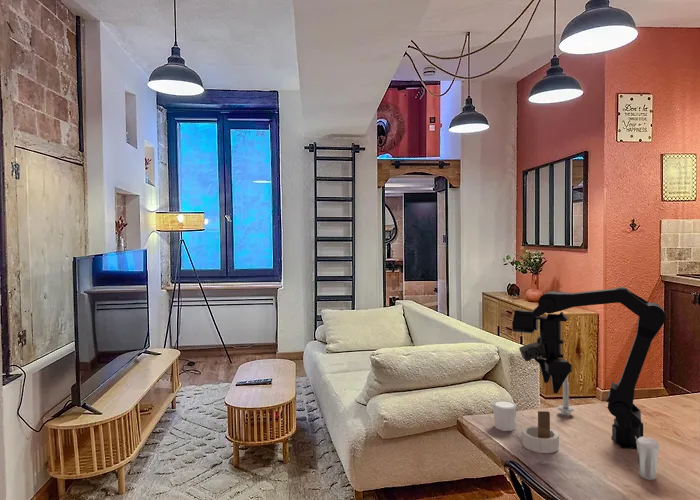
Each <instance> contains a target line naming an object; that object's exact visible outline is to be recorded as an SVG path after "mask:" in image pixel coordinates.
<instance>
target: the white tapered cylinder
mask: <svg viewBox="0 0 700 500" xmlns="http://www.w3.org/2000/svg"><path fill="white" fill-rule="evenodd" d="M517 407H518V406H517V404H516V403H515V402H513V401H510V400H496V401H493V402H492V409H493V419H494V427H495V429H498V430H500V431H503V432H510V431H511V432H512V431H514V430H515V429H516V417H517Z"/></svg>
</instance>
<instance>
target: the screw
mask: <svg viewBox="0 0 700 500" xmlns="http://www.w3.org/2000/svg"><path fill="white" fill-rule="evenodd" d="M569 387H570V386H569V375H567V377H566V379H565V380H564V382H563V384H562V404H560V405H558V406H557V409H558V411H560V415H562V416H564V417H569V416H571V414H572V413H573V412H575V408H574V407H573V406H571V405H570V394H569V393H570V392H569V391H570V388H569Z"/></svg>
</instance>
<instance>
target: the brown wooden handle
mask: <svg viewBox="0 0 700 500" xmlns="http://www.w3.org/2000/svg"><path fill="white" fill-rule="evenodd" d="M537 426H538V438H550V429H551V413H550V411H545V410H543V411H540V410H538V411H537Z"/></svg>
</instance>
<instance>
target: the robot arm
mask: <svg viewBox="0 0 700 500" xmlns="http://www.w3.org/2000/svg"><path fill="white" fill-rule="evenodd" d="M537 303H538V304H537V306H536V307H534V309H532V310H523V309H515V310H514V311H513V316H512V317H513V318H512V322H511V326H512V327H511V328H512V331H513V333H519V334H520V333H523V334H532V335H533V334H534V333H535V331H538V330H539V336H537V338H536V342H532V343H529V344H526V345H525V344H524V345H522V346H520V347H519V348H518V350H519V352H520V354H521V358H522V359H523V360H524V361H525V362H529V361H531V360H533V359H534V361H536V363H537V364H538V365H539V368H540V372H541V376H542V381H543V383H544V384H548V383H549V381H550V380H551V381H550V382H551V388H552V392H553V394H559V391H560V390H561V389H562V388H561V387H563V382H564V380H565V379H566V377H567V376H569V375H570V373H572V372H573V365H572V364H571V363H570V362H569V361H568V360H566V359H565V358H564V354H563V353H562V345H564V340H563V339H562V323H561V322H567V321H568V320H569V317H568V316H567V315H566V314H564V312H563V311H565V310H568V309H572V308H575V307H586V306H596V305H607V304H616V303H617V304H620V305H621V304H622V306H624V307H626V308H627V309H628V310H629V311H631V312H632V313H633V314H635V315H636V316H637V317H638V318H637V325H636V326H637V329H636V334H635V337H634V340H633V343H632V346H631V349H630V351H629V354H628V356H627V360H626V363H625V365H624V368H623V371H622V373H621V376H620V379H619V381H618V382H617V383H615V382H611V384H610V389H609V391H608V392H607V393H606V399H605V402H606V403H607V410H608V411H609V413H610V414H611V415H612V416H613V417H615V418H613V424H612V425H611V432H612V433H611V437H610V438H611V439H612V440H613V442H615V443H616V444H617V445H618V446H619V447H620V448H622V449H637V444H636V438H637V439H638V438H640V437H644V423H643V422H642V411H641V410H640V408H639V407H638V406H636V405H635V403H634V401H635V400H634V397H635V392H636V391H635V390H636V389H635V388H636V385H637V383H638V380H639V377H640V375H641V373H642V369H643V366H644V364H645V360H646V358H647V355H648V352H649V350H650V347H651V343H652V341H653V339H654V338H655V337H656V336H657V335H658V333H659V332H660V331H661V328H662V327H663V325H664V324H665V322H666V317H667V316H666V313H665V310H664V308H663V307H662V306H661V305H660V304H658V303H656V302H649V301H647V300H645V299H644V298H642V297H640V295H637V294H635V293H634V292H632V291H631V290H629V289H628V288H627V287H625V286H619V287H616V288H607V289H598V290H590V291H589V290H588V291H582V292H581V291H580V292H566V291H554V290H552V291H546V292H544V293H543V294H542V295H540V297H539V298H538V302H537ZM558 312H560V313H559V314H558ZM545 314H547V316H543V315H545ZM635 436H636V438H635Z"/></svg>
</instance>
